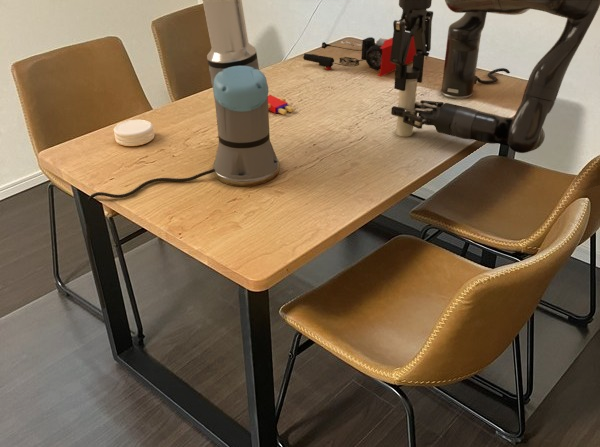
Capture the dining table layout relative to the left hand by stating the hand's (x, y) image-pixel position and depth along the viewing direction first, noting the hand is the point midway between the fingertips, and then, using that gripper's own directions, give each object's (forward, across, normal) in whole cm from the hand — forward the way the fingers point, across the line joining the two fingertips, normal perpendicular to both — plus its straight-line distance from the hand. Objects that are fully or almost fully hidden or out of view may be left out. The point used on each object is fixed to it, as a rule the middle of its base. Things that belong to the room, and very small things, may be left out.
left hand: (408, 85), depth 156 cm
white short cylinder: (+13, +48, -51) cm, 72 cm away
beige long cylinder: (+13, 0, 0) cm, 13 cm away
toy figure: (+13, +10, -38) cm, 41 cm away
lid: (-4, 0, 0) cm, 4 cm away
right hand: (+6, 0, -3) cm, 7 cm away
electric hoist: (+13, -40, -45) cm, 61 cm away
